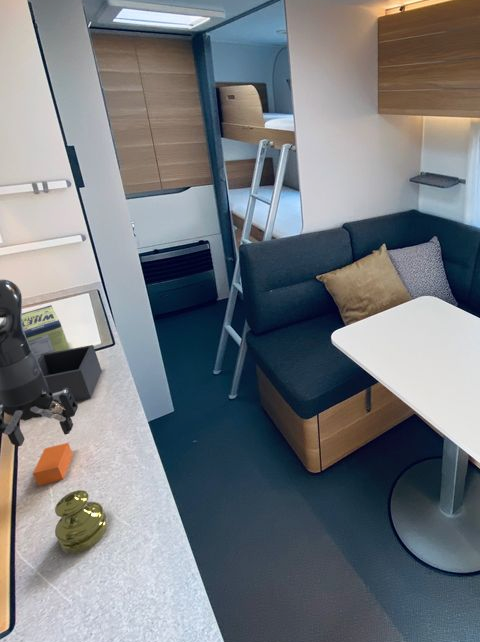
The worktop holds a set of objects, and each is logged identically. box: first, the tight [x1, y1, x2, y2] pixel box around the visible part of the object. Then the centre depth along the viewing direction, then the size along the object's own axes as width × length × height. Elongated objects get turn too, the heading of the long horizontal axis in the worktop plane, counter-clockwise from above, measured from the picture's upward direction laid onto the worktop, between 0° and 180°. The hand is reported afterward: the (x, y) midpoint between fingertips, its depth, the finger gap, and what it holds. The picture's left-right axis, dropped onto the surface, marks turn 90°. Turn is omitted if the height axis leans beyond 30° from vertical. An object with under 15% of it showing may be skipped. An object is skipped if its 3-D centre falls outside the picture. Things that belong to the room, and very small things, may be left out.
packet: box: [32, 442, 74, 487], centre depth 90 cm, size 7×4×4 cm, turn 20°
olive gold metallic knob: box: [54, 489, 109, 555], centre depth 75 cm, size 7×7×10 cm
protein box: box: [22, 304, 71, 360], centre depth 125 cm, size 10×16×16 cm
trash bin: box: [38, 344, 103, 409], centre depth 113 cm, size 13×13×10 cm
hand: (44, 437), depth 87 cm, fingers open, 8 cm apart
